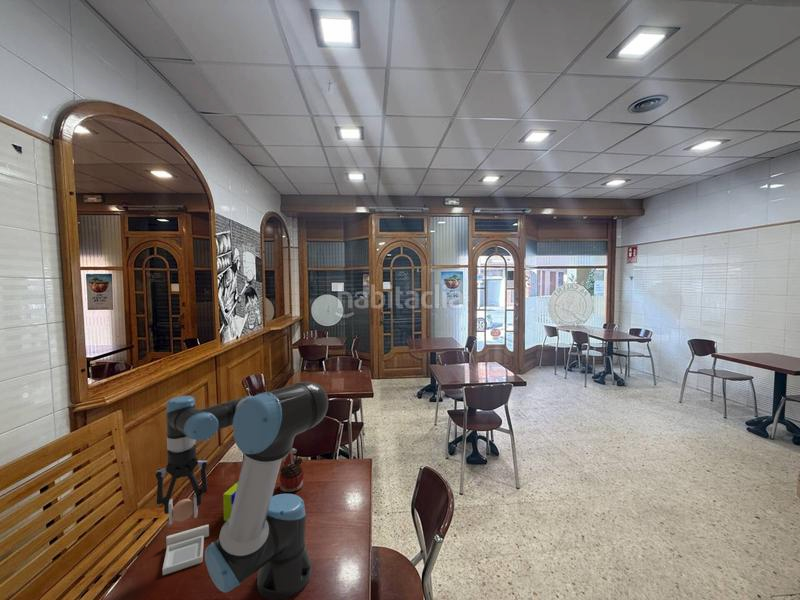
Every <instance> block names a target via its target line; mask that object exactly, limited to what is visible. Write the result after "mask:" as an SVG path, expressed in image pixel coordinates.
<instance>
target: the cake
mask: <svg viewBox="0 0 800 600" xmlns="http://www.w3.org/2000/svg"><path fill="white" fill-rule="evenodd" d="M293 447H294V446H293V445H292V448H291V451H290V453H289V454H288V455H287V456H286V457H285V458H284V462H283V465H282V467H281V468H280V474H279V483H280V486H279V489H280V491H282V492H288V493H289V492H295V491H298V490H300V489H301V488H303V486H304V480H303V479H304V470H303V468H302V466H301V465H302V462H303V458H301V457H300V456H298V457H296V458H295V457H294V455H295V454H296V453H297V449H296V448H293Z"/></svg>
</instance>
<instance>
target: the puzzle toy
mask: <svg viewBox="0 0 800 600" xmlns="http://www.w3.org/2000/svg"><path fill="white" fill-rule="evenodd" d="M237 485H238V481H236V483H234V484H233V485H232V486H231V487H230V488H229V489H228V490H227V491H225V492H223V495H222V497H223V503H222V505H223V521H225V522H226V521H227V520H228V519H229V518H230V516H231V512H232V507H233V503H234V499H235V494H236V490H237Z"/></svg>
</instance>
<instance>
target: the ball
mask: <svg viewBox="0 0 800 600" xmlns="http://www.w3.org/2000/svg"><path fill="white" fill-rule="evenodd" d="M192 515H194V500H191V499H189V498H184V499H181V500H179V501H178V502H176V503H175V505H173V510H172V516H173V520H175V521H177V522H183V521H186V520H188V519H189V518H190V517H192Z"/></svg>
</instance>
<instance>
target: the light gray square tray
mask: <svg viewBox="0 0 800 600" xmlns="http://www.w3.org/2000/svg"><path fill="white" fill-rule="evenodd" d="M204 544H205V538H204V535H202V536H199V537H196V538H192V539H189V540H186V541H182V542H179V543H176V544H172V545H169V546H166V551H165V555H164V561H163V565H162V576H165V575H168V574H172V573H174V572H177V571H181V570H183V569H186V568H189V567H192V566H196V565H199V564H201V563H203V559H204V558H203V556H204Z"/></svg>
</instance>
